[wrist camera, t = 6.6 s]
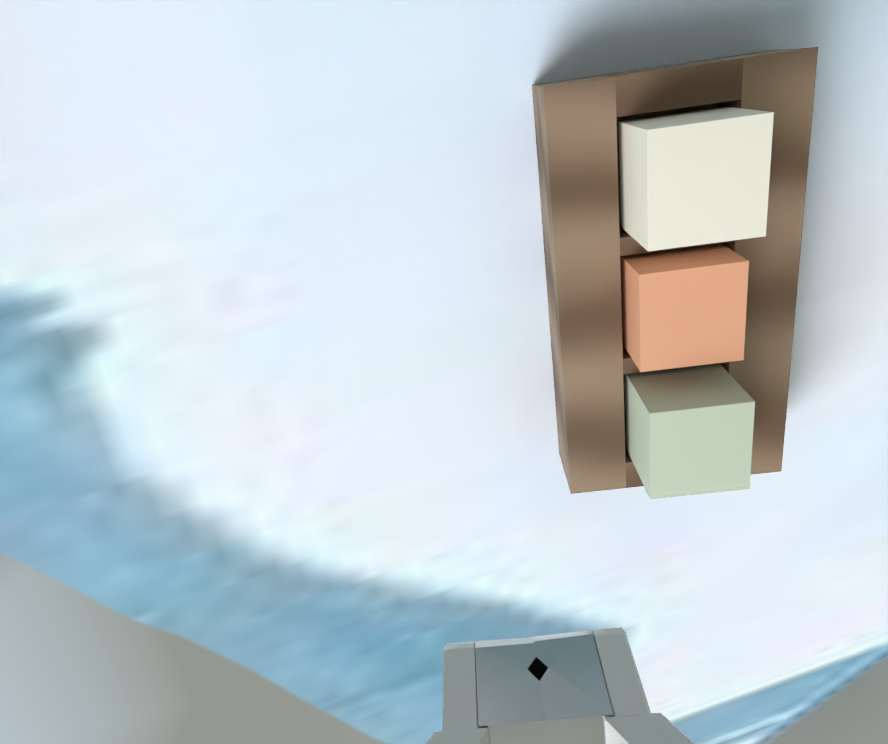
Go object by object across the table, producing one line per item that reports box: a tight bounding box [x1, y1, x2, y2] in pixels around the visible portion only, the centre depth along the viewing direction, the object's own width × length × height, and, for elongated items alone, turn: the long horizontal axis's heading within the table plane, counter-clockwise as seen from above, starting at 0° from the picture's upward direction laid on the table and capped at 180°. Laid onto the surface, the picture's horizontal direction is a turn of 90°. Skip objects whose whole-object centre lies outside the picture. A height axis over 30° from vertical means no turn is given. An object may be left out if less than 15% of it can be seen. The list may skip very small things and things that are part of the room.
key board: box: [532, 47, 818, 494], centre depth 36 cm, size 22×12×4 cm, turn 8°
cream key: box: [618, 107, 774, 251], centre depth 30 cm, size 5×5×5 cm
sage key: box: [625, 363, 755, 499], centre depth 35 cm, size 5×5×5 cm
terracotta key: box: [620, 243, 749, 372], centre depth 34 cm, size 5×5×5 cm
